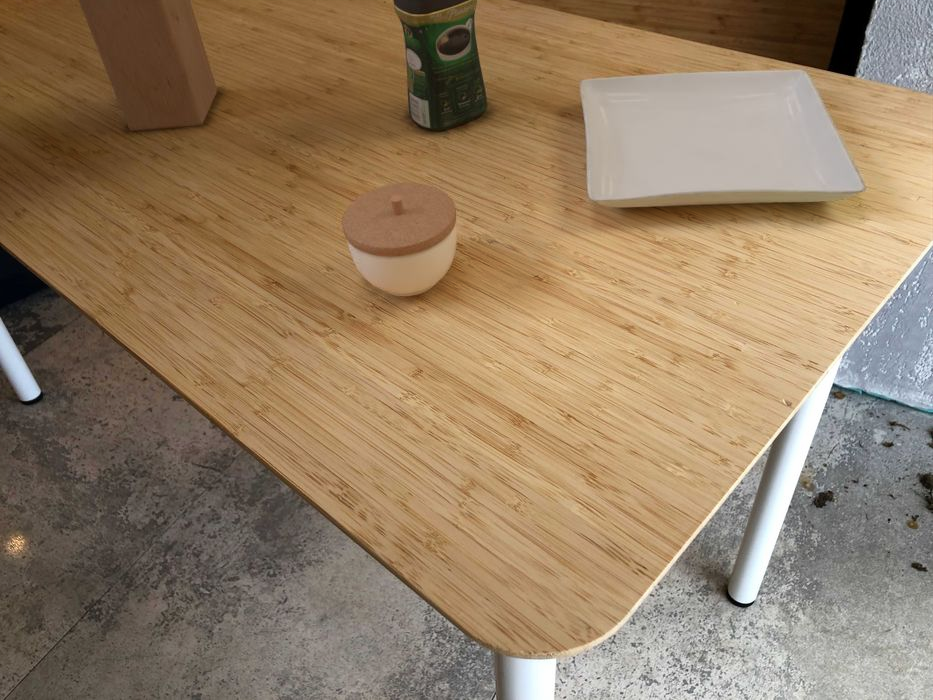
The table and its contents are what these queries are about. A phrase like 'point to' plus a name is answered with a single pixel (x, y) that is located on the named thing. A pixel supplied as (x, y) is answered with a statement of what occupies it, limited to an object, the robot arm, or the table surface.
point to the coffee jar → (442, 62)
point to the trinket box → (402, 236)
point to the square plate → (713, 140)
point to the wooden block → (153, 60)
